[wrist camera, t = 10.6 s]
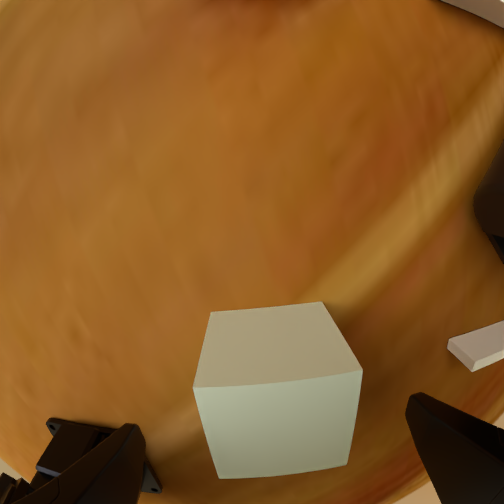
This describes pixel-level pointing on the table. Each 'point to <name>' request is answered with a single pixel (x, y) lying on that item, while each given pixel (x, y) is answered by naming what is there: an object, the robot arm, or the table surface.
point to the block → (276, 391)
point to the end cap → (492, 203)
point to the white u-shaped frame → (500, 334)
